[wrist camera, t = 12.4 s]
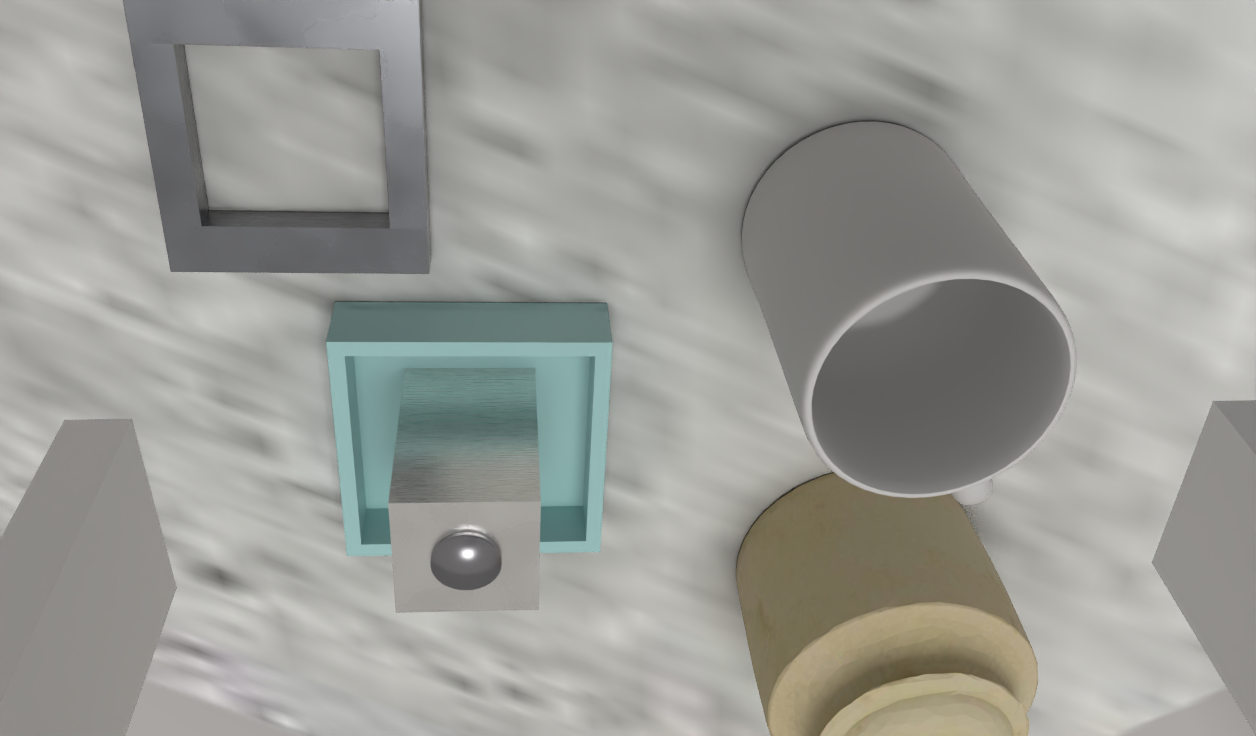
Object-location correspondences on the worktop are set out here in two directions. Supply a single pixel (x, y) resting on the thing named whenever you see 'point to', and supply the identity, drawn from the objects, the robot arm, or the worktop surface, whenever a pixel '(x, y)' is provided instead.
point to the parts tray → (473, 338)
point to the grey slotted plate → (284, 241)
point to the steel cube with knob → (466, 491)
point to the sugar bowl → (880, 619)
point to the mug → (903, 315)
